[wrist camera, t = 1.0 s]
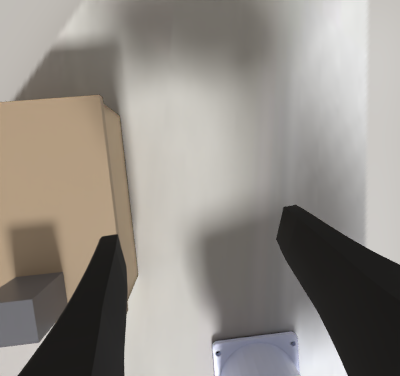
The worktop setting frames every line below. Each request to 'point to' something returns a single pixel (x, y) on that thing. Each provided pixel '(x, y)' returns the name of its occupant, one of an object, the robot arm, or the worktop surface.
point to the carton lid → (50, 207)
